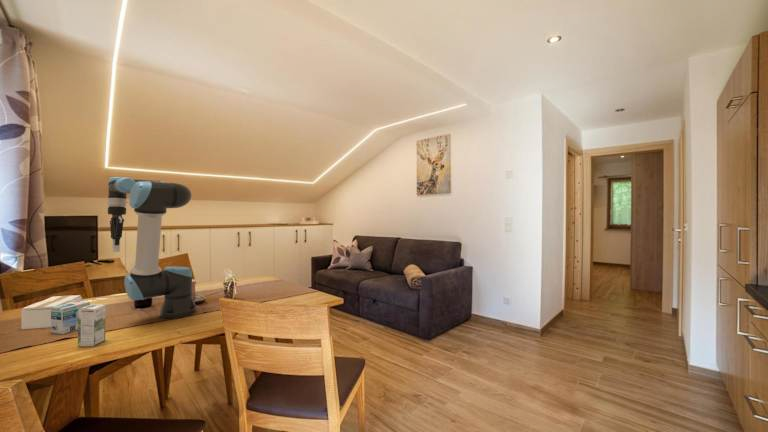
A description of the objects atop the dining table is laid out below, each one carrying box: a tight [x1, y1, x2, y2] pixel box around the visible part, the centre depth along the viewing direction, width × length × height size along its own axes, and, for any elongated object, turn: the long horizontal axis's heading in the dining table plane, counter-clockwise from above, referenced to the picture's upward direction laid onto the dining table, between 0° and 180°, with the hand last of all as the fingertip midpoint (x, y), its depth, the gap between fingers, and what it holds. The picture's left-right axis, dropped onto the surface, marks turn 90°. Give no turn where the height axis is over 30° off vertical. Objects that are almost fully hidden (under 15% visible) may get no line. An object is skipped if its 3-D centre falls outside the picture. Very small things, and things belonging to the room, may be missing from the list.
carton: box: [20, 296, 83, 330], centre depth 147 cm, size 18×12×9 cm, turn 16°
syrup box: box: [77, 303, 107, 347], centre depth 125 cm, size 6×6×14 cm
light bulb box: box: [50, 300, 91, 335], centre depth 138 cm, size 11×7×11 cm, turn 168°
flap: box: [40, 294, 82, 303], centre depth 151 cm, size 9×11×1 cm
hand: (115, 251), depth 169 cm, fingers closed
